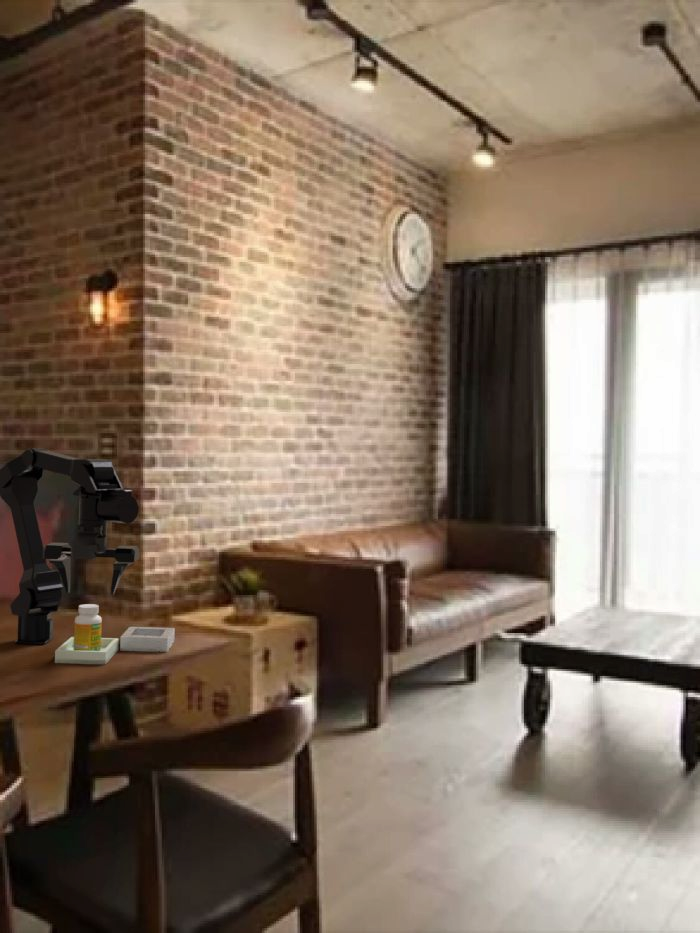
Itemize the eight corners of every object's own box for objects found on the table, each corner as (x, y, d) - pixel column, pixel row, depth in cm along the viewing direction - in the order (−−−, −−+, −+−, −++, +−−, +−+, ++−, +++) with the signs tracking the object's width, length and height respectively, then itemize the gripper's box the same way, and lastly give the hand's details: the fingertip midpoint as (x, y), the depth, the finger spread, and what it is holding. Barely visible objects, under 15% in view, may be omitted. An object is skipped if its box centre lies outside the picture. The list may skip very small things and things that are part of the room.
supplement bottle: (92, 656, 177) (94, 609, 177) (68, 654, 178) (70, 607, 178) (105, 650, 182) (107, 604, 182) (81, 648, 183) (83, 602, 183)
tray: (54, 663, 174) (55, 650, 174) (70, 648, 186) (71, 636, 186) (105, 664, 175) (105, 652, 174) (118, 649, 187) (118, 638, 186)
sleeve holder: (120, 650, 186) (120, 636, 186) (129, 639, 196) (130, 626, 196) (167, 652, 187) (167, 638, 186) (174, 641, 197) (174, 628, 196)
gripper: (35, 520, 173) (32, 599, 173) (130, 525, 173) (126, 602, 174) (52, 515, 184) (49, 589, 184) (141, 519, 184) (138, 592, 185)
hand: (90, 593), depth 181 cm, fingers open, 9 cm apart
